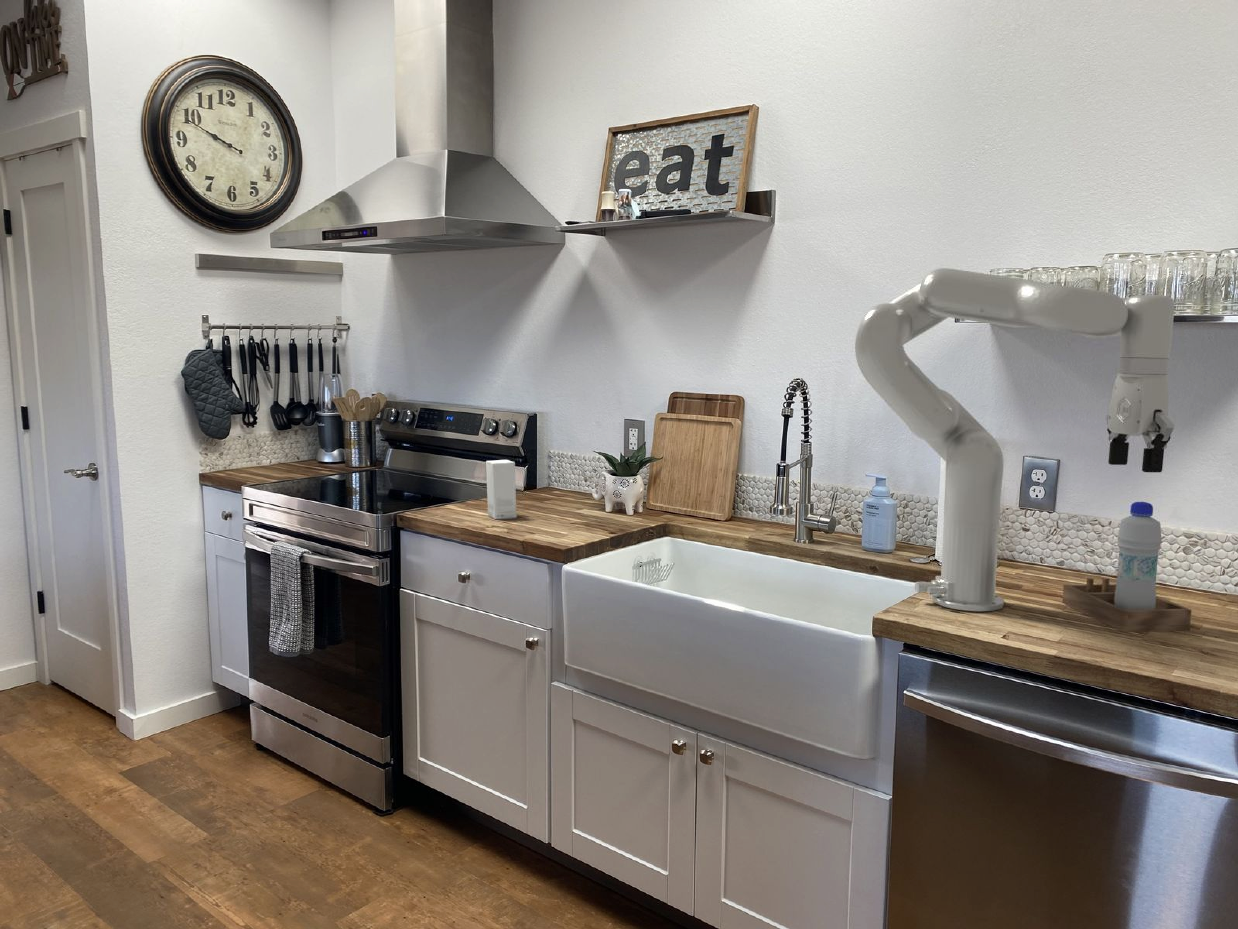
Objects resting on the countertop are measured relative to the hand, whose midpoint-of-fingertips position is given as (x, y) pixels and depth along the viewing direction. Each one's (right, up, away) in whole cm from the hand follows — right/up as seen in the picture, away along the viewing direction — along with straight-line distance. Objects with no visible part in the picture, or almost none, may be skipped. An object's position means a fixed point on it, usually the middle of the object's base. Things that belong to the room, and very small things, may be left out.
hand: (1134, 468), depth 162 cm
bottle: (0, -26, +1) cm, 26 cm away
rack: (0, -26, +4) cm, 27 cm away
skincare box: (-122, -14, +98) cm, 157 cm away
